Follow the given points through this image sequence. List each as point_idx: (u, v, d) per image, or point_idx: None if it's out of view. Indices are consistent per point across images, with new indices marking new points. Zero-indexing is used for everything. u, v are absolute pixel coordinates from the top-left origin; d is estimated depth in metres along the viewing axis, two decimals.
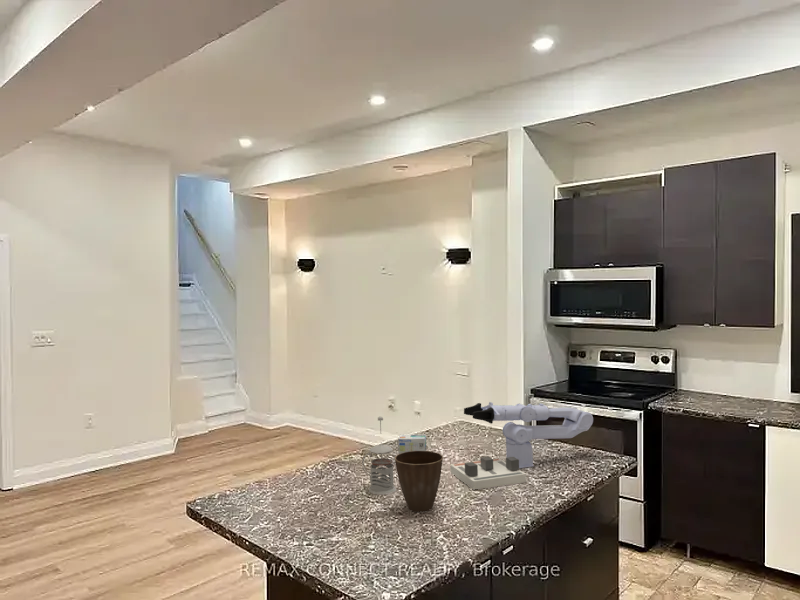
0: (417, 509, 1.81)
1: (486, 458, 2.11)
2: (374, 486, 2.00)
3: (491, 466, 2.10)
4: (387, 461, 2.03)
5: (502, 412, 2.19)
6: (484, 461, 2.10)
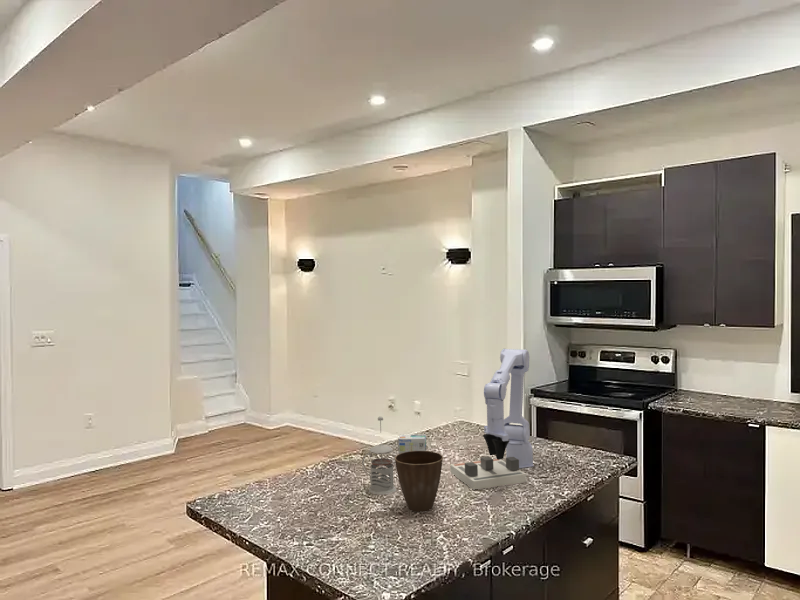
0: (417, 509, 1.81)
1: (486, 458, 2.11)
2: (374, 486, 2.00)
3: (491, 466, 2.10)
4: (387, 461, 2.03)
5: (497, 423, 2.01)
6: (484, 461, 2.10)
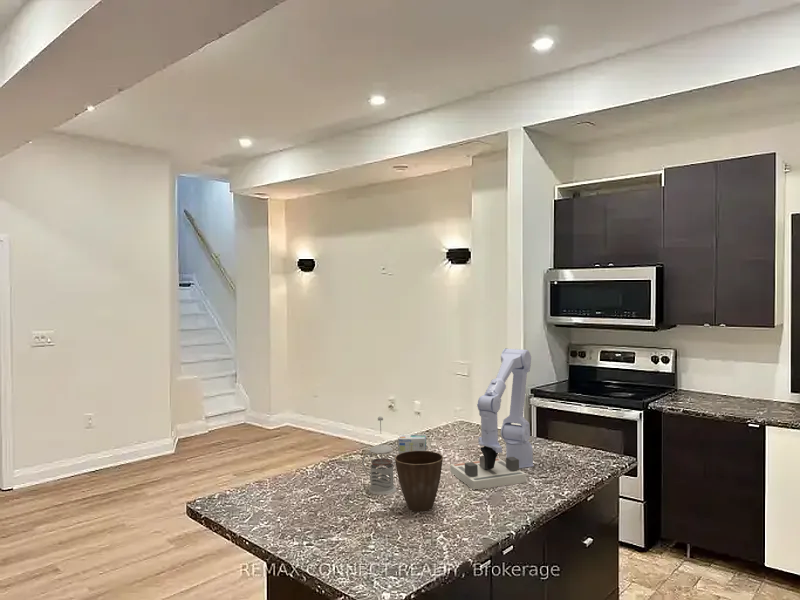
0: (417, 509, 1.81)
1: None
2: (374, 486, 2.00)
3: None
4: (387, 461, 2.03)
5: (491, 434, 2.06)
6: (483, 460, 2.11)
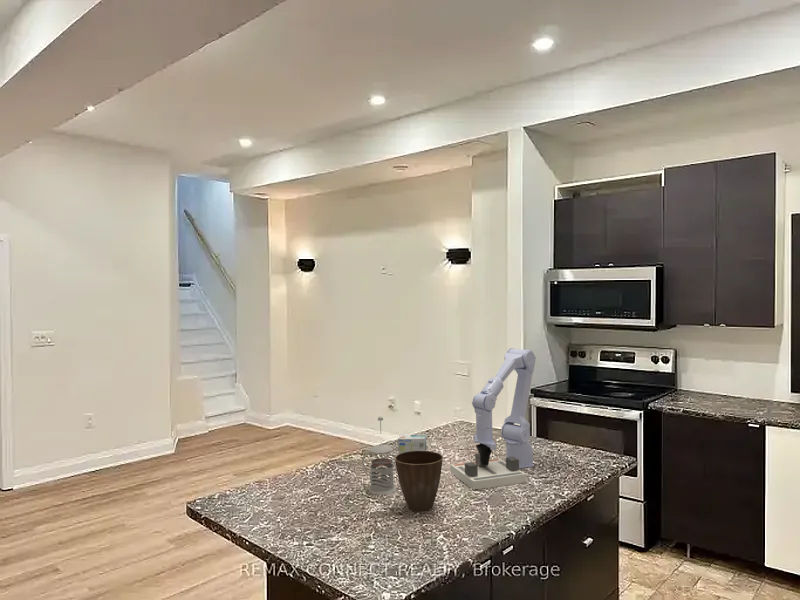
0: (417, 509, 1.81)
1: None
2: (374, 486, 2.00)
3: None
4: (387, 461, 2.03)
5: (485, 432, 2.10)
6: (479, 458, 2.14)
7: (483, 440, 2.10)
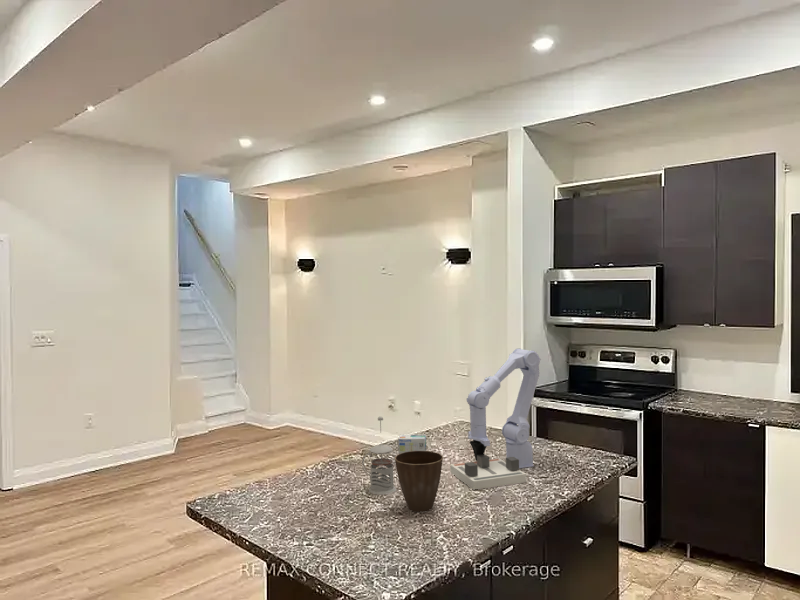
0: (417, 509, 1.81)
1: (482, 456, 2.14)
2: (374, 486, 2.00)
3: (487, 464, 2.13)
4: (387, 461, 2.03)
5: (479, 429, 2.15)
6: (480, 459, 2.13)
7: (477, 437, 2.15)
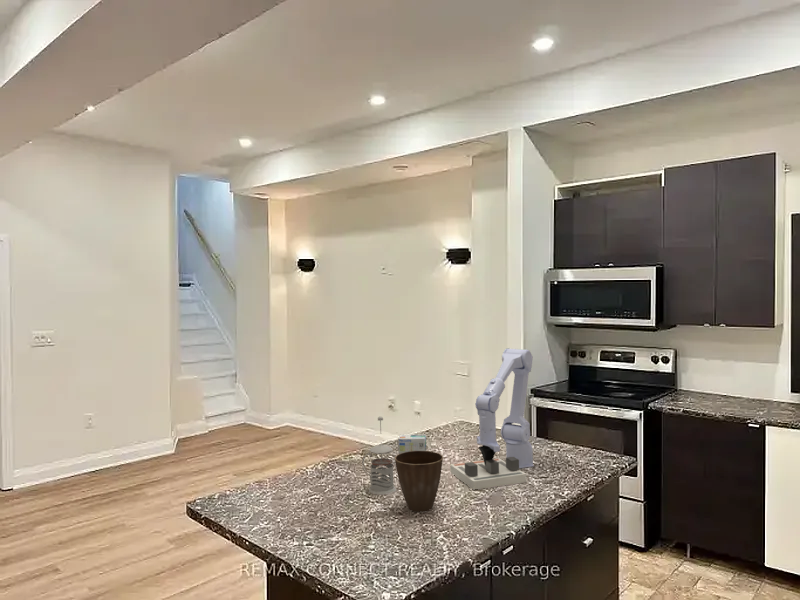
0: (417, 509, 1.81)
1: (492, 462, 2.07)
2: (374, 486, 2.00)
3: (497, 469, 2.06)
4: (387, 461, 2.03)
5: (489, 434, 2.07)
6: (489, 464, 2.06)
7: (486, 442, 2.08)
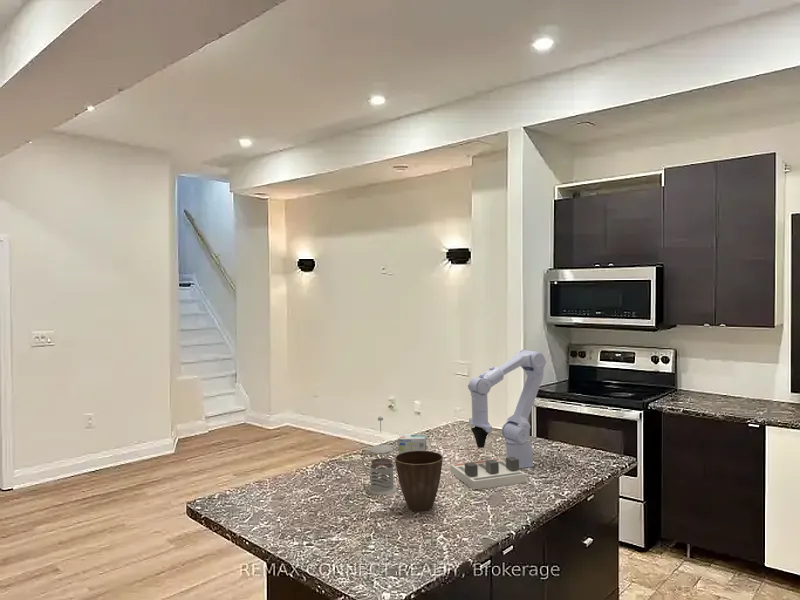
0: (417, 509, 1.81)
1: (491, 462, 2.07)
2: (374, 486, 2.00)
3: (496, 469, 2.06)
4: (387, 461, 2.03)
5: (481, 415, 2.14)
6: (489, 464, 2.06)
7: (479, 423, 2.14)
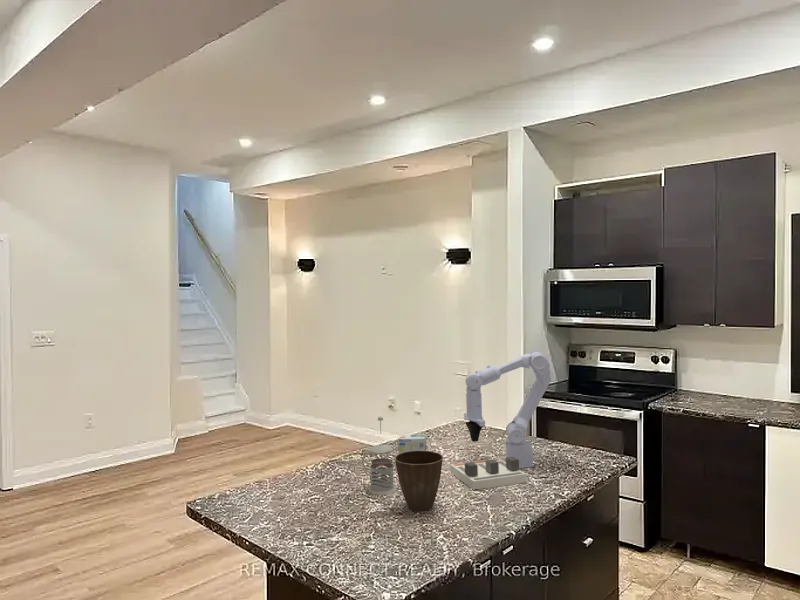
0: (417, 509, 1.81)
1: (491, 462, 2.07)
2: (374, 486, 2.00)
3: (496, 469, 2.06)
4: (387, 461, 2.03)
5: (475, 410, 2.22)
6: (489, 464, 2.06)
7: (473, 417, 2.23)
